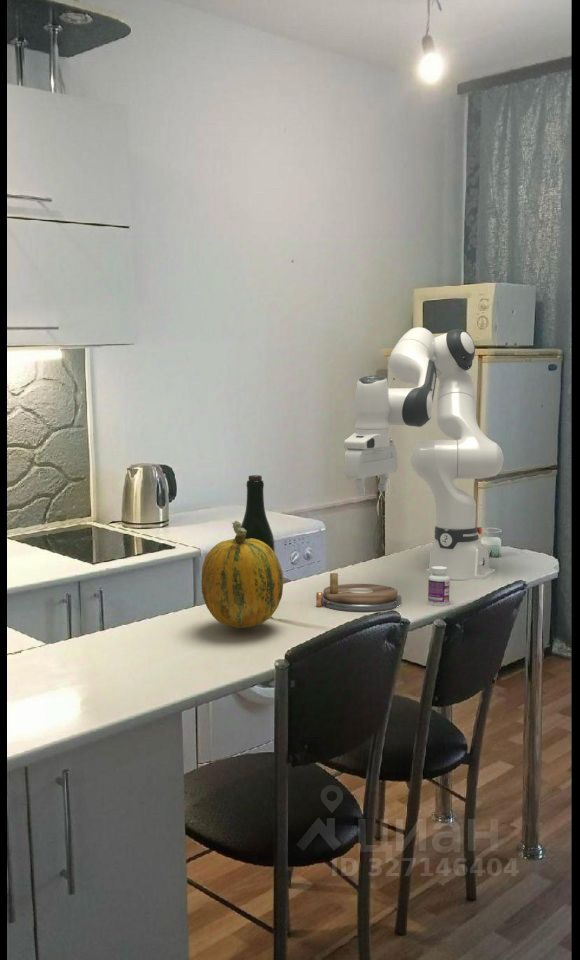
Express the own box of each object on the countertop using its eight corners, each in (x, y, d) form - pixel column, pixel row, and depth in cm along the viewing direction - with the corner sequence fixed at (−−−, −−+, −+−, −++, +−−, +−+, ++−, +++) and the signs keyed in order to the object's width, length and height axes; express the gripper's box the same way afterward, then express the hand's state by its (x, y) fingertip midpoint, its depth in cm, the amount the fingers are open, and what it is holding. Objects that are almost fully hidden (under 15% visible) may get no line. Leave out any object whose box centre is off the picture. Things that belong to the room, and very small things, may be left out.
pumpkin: (226, 638, 202) (225, 524, 200) (187, 621, 218) (186, 515, 216) (298, 627, 212) (298, 518, 210) (256, 611, 228) (256, 510, 226)
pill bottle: (449, 607, 233) (450, 569, 232) (427, 606, 234) (428, 568, 233) (449, 603, 238) (449, 565, 237) (428, 602, 239) (428, 565, 238)
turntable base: (349, 591, 253) (349, 578, 253) (416, 601, 240) (416, 587, 240) (302, 604, 236) (302, 590, 236) (372, 616, 223) (372, 601, 223)
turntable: (311, 592, 243) (311, 568, 243) (375, 587, 250) (376, 563, 250) (343, 607, 226) (343, 580, 225) (411, 600, 233) (411, 575, 232)
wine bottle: (255, 611, 229) (255, 477, 226) (226, 604, 236) (225, 475, 233) (284, 604, 237) (284, 475, 234) (255, 598, 244) (254, 473, 241)
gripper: (382, 436, 248) (382, 487, 249) (339, 442, 232) (340, 496, 233) (403, 437, 244) (403, 489, 246) (361, 443, 228) (361, 498, 229)
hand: (372, 493), depth 239 cm, fingers open, 8 cm apart
